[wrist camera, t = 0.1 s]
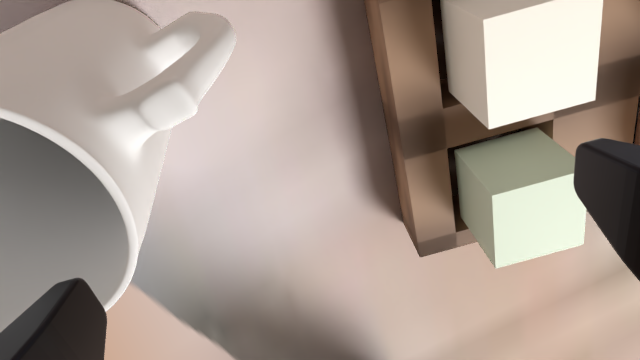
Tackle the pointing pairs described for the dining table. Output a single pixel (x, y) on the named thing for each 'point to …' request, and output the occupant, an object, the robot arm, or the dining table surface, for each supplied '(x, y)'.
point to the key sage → (519, 197)
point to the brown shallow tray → (463, 127)
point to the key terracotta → (638, 130)
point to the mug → (91, 139)
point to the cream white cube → (521, 56)
